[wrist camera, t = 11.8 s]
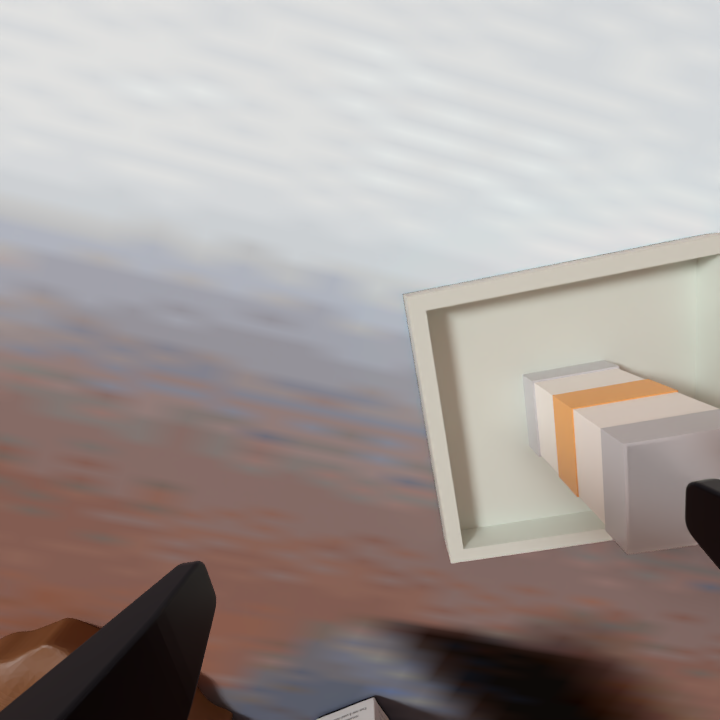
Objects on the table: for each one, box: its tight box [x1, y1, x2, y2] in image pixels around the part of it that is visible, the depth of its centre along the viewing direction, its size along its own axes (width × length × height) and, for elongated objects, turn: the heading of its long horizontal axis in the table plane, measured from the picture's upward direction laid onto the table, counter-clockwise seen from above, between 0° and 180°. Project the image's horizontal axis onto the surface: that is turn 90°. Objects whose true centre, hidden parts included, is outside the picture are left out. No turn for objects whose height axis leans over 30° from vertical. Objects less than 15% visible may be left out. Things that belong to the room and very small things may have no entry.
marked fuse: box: [522, 360, 720, 555], centre depth 16 cm, size 4×4×8 cm
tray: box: [403, 233, 720, 563], centre depth 19 cm, size 15×15×2 cm
